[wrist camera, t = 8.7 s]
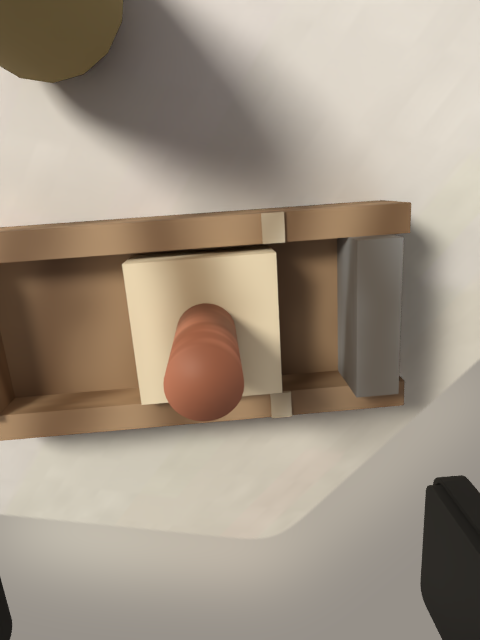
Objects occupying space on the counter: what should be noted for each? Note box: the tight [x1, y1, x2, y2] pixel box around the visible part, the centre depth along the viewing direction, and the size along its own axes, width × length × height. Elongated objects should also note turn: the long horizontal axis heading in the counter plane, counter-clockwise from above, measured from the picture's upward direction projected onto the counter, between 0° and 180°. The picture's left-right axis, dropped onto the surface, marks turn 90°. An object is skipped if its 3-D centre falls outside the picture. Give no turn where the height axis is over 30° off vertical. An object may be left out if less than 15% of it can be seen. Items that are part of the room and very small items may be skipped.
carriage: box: [122, 245, 282, 421], centre depth 23 cm, size 8×8×10 cm
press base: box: [0, 200, 411, 441], centre depth 27 cm, size 26×12×6 cm, turn 94°
